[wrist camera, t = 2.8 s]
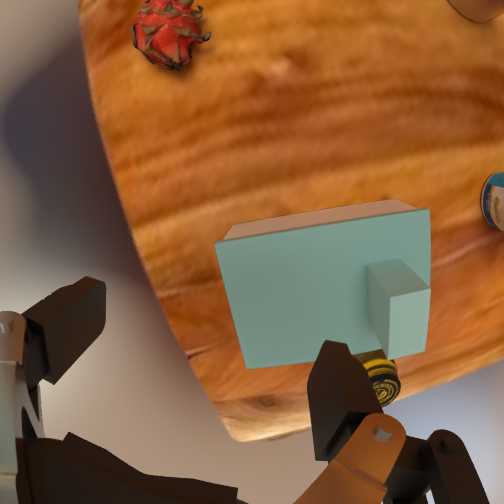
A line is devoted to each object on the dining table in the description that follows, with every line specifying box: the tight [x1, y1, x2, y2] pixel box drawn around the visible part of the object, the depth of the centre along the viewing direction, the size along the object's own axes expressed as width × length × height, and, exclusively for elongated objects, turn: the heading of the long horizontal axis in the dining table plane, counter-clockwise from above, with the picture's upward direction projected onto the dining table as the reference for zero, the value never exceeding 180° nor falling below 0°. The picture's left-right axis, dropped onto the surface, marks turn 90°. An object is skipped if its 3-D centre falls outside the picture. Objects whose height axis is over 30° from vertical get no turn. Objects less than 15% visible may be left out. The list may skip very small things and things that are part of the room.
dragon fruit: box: [130, 0, 211, 71], centre depth 26 cm, size 8×8×12 cm
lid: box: [214, 208, 431, 369], centre depth 25 cm, size 21×15×8 cm
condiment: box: [352, 349, 401, 407], centre depth 33 cm, size 7×8×12 cm
